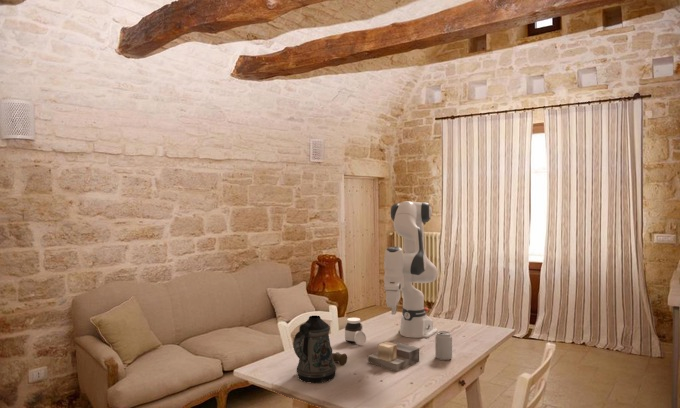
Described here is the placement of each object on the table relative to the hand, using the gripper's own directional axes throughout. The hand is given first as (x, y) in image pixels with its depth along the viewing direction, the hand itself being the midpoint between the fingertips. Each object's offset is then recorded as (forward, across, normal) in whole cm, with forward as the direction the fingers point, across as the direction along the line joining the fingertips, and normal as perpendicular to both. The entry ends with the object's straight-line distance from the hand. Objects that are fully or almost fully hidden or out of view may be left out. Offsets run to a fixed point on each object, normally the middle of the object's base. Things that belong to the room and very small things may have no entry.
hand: (394, 313), depth 215 cm
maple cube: (+16, +2, -1) cm, 16 cm away
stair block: (+22, 0, 0) cm, 22 cm away
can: (+22, -10, +22) cm, 32 cm away
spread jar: (+22, -24, -22) cm, 39 cm away
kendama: (+22, +4, -30) cm, 38 cm away
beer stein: (+22, +25, -29) cm, 45 cm away
